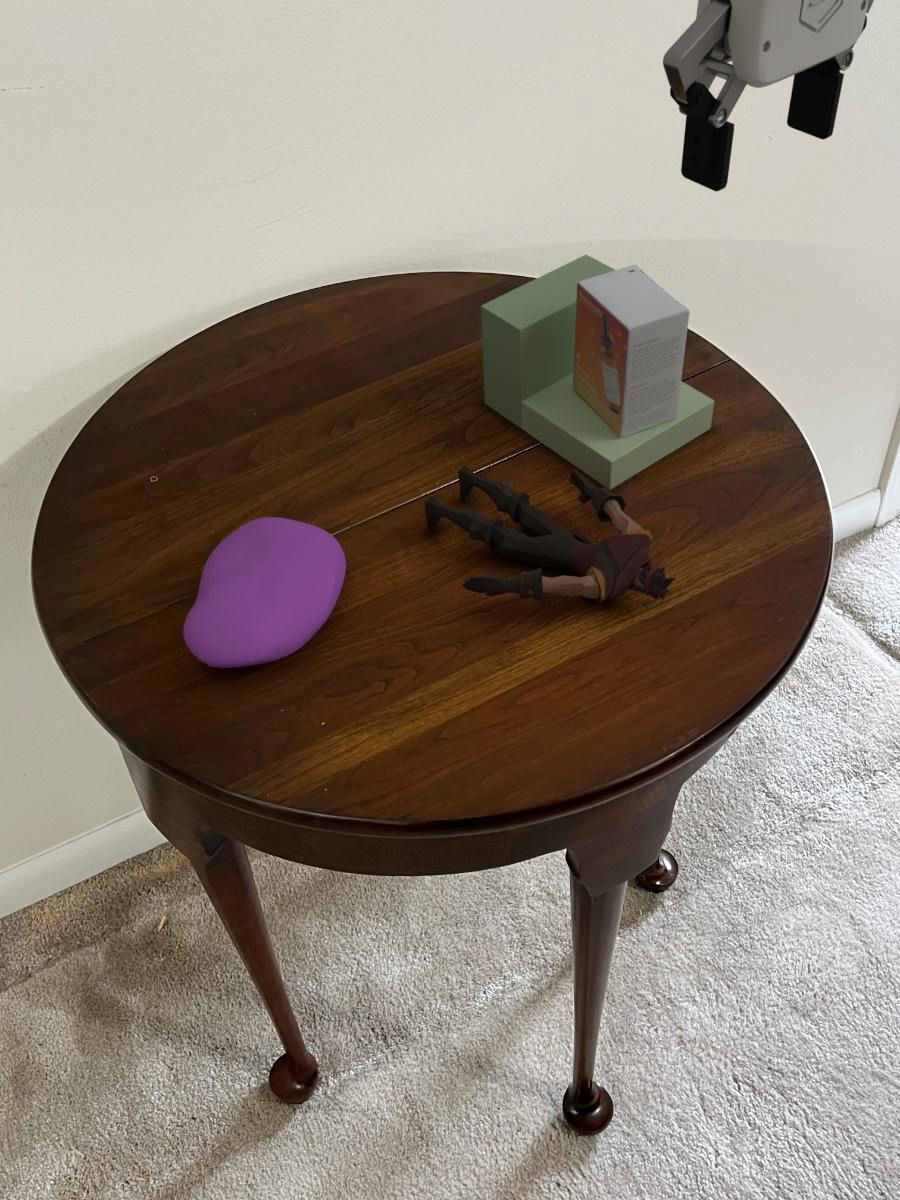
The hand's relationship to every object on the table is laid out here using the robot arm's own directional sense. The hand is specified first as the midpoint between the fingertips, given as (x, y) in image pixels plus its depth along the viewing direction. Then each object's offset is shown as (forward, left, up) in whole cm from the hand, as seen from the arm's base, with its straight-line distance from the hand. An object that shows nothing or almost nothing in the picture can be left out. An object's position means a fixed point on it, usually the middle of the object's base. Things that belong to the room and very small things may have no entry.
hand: (757, 156), depth 70 cm
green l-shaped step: (+14, -1, -28) cm, 32 cm away
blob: (+13, +34, -28) cm, 46 cm away
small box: (+11, -1, -26) cm, 28 cm away
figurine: (+3, +14, -28) cm, 32 cm away
